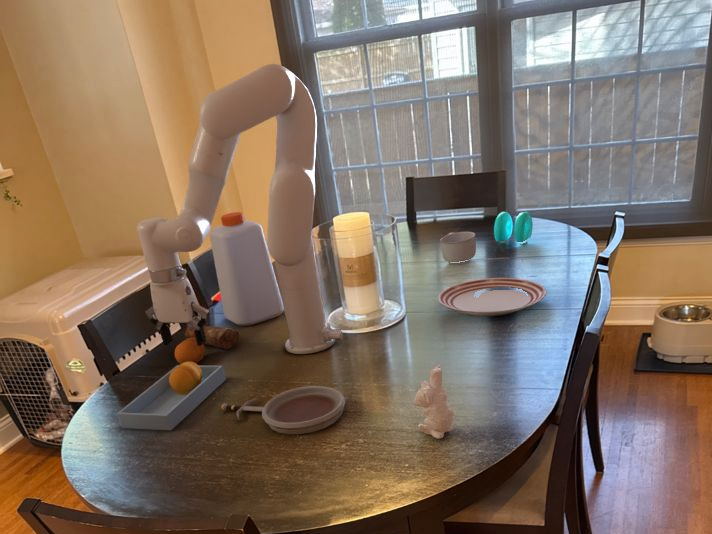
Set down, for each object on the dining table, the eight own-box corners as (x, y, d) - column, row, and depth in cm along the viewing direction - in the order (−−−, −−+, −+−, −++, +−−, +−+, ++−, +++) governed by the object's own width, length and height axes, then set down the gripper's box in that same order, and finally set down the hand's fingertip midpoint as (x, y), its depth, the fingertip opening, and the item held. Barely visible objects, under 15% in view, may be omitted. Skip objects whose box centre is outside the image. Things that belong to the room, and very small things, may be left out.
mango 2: (209, 380, 156) (203, 357, 153) (190, 397, 149) (183, 373, 146) (188, 380, 158) (181, 357, 154) (168, 397, 151) (160, 373, 148)
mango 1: (211, 355, 171) (205, 333, 168) (193, 369, 164) (187, 347, 161) (191, 355, 173) (185, 333, 170) (173, 369, 166) (167, 347, 163)
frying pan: (239, 383, 147) (356, 384, 137) (242, 395, 149) (358, 397, 138) (198, 420, 134) (324, 425, 124) (202, 433, 136) (327, 438, 125)
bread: (225, 354, 170) (219, 333, 167) (183, 342, 182) (177, 322, 179) (244, 345, 173) (239, 324, 170) (202, 334, 185) (196, 314, 182)
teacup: (478, 264, 205) (477, 237, 201) (443, 269, 206) (441, 242, 201) (472, 252, 217) (471, 227, 212) (439, 257, 217) (437, 231, 213)
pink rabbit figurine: (428, 420, 126) (423, 361, 120) (462, 423, 123) (459, 363, 117) (412, 442, 120) (405, 382, 114) (447, 446, 117) (443, 384, 111)
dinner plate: (512, 280, 188) (512, 268, 186) (567, 306, 165) (568, 293, 163) (422, 302, 182) (421, 290, 181) (467, 333, 160) (466, 319, 158)
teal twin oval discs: (522, 248, 213) (522, 216, 207) (493, 248, 218) (492, 216, 212) (533, 240, 219) (534, 208, 214) (505, 239, 224) (504, 208, 219)
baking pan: (226, 379, 156) (222, 365, 154) (171, 430, 137) (166, 415, 136) (181, 378, 160) (177, 365, 158) (121, 428, 142) (116, 413, 140)
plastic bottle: (266, 303, 201) (245, 205, 186) (290, 313, 190) (269, 210, 175) (220, 318, 195) (195, 218, 180) (242, 329, 184) (216, 224, 169)
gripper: (206, 269, 156) (222, 338, 166) (144, 270, 162) (163, 337, 171) (190, 279, 151) (208, 350, 160) (126, 280, 156) (147, 348, 166)
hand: (185, 343), depth 166 cm, fingers open, 9 cm apart
